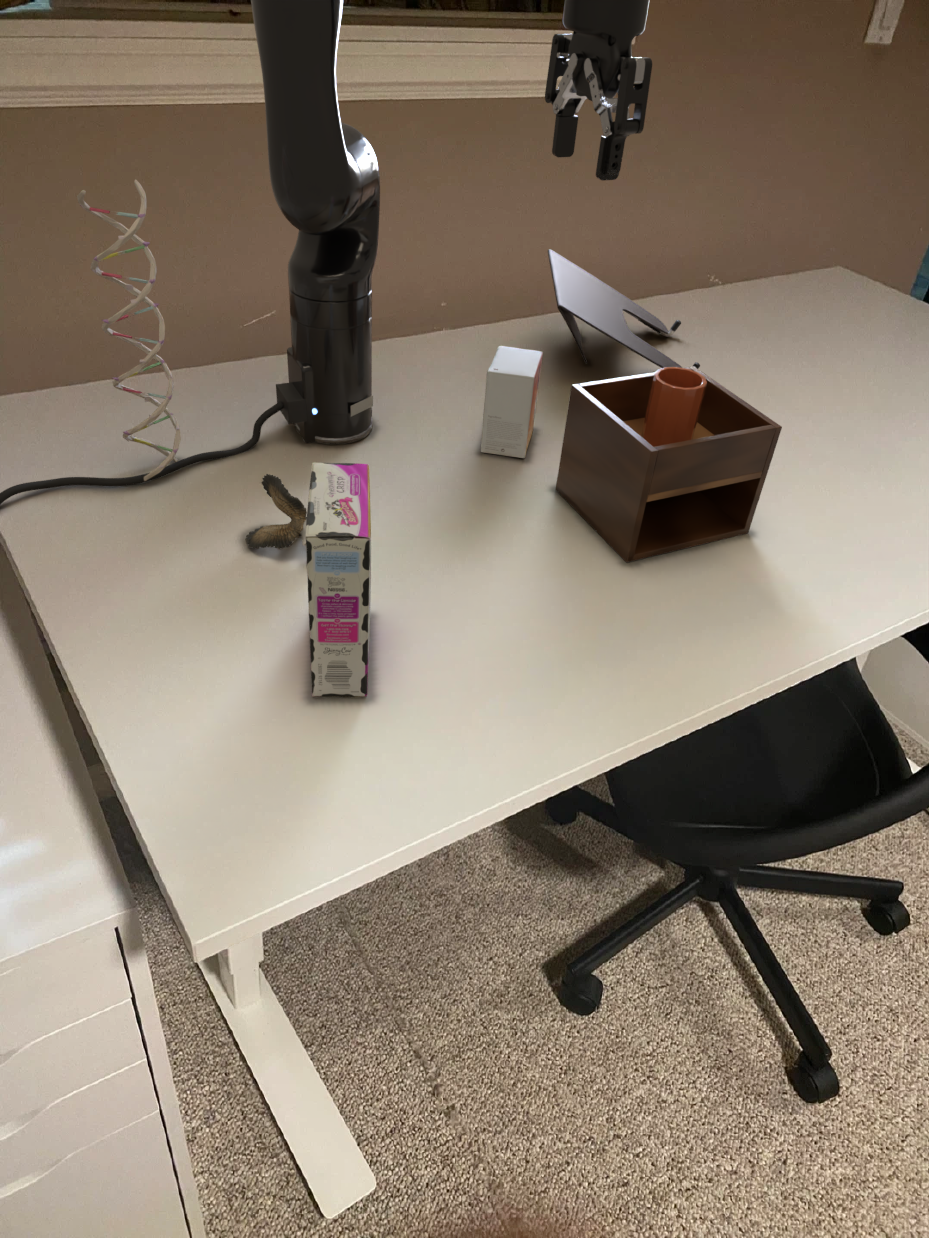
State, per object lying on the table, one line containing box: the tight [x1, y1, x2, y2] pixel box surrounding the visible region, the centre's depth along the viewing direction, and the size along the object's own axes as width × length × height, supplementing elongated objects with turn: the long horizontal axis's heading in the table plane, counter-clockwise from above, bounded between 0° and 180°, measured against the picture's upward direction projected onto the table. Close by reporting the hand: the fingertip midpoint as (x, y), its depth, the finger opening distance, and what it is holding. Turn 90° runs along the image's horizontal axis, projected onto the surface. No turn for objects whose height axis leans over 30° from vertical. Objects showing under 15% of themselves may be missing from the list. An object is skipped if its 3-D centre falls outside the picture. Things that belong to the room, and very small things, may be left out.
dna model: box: [76, 179, 182, 481], centre depth 92 cm, size 7×6×30 cm
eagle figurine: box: [245, 473, 307, 550], centre depth 91 cm, size 8×7×9 cm
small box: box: [480, 345, 544, 459], centre depth 109 cm, size 8×6×10 cm
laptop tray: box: [547, 248, 701, 369], centre depth 134 cm, size 23×23×9 cm
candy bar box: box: [305, 462, 372, 699], centre depth 75 cm, size 11×5×16 cm, turn 5°
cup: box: [641, 367, 707, 447], centre depth 95 cm, size 5×5×8 cm
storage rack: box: [555, 365, 783, 563], centre depth 98 cm, size 16×15×13 cm
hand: (583, 167), depth 91 cm, fingers open, 8 cm apart
